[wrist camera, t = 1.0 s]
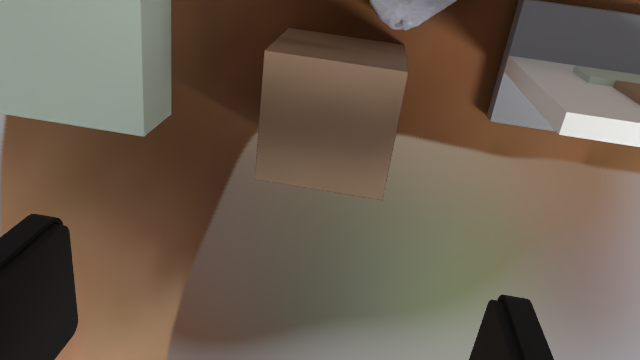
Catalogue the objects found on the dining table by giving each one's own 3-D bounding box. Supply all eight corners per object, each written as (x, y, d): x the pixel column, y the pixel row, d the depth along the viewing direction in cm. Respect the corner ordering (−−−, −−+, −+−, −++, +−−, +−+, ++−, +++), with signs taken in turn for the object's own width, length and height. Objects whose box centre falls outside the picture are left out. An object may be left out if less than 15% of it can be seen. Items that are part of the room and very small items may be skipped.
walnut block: (383, 151, 29) (382, 200, 24) (278, 135, 30) (254, 179, 24) (403, 44, 27) (408, 72, 21) (288, 27, 27) (264, 50, 22)
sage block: (173, 112, 30) (144, 136, 26) (40, 91, 30) (-7, 112, 27) (173, -37, 26) (139, -32, 23) (23, -58, 27) (-33, -57, 23)
